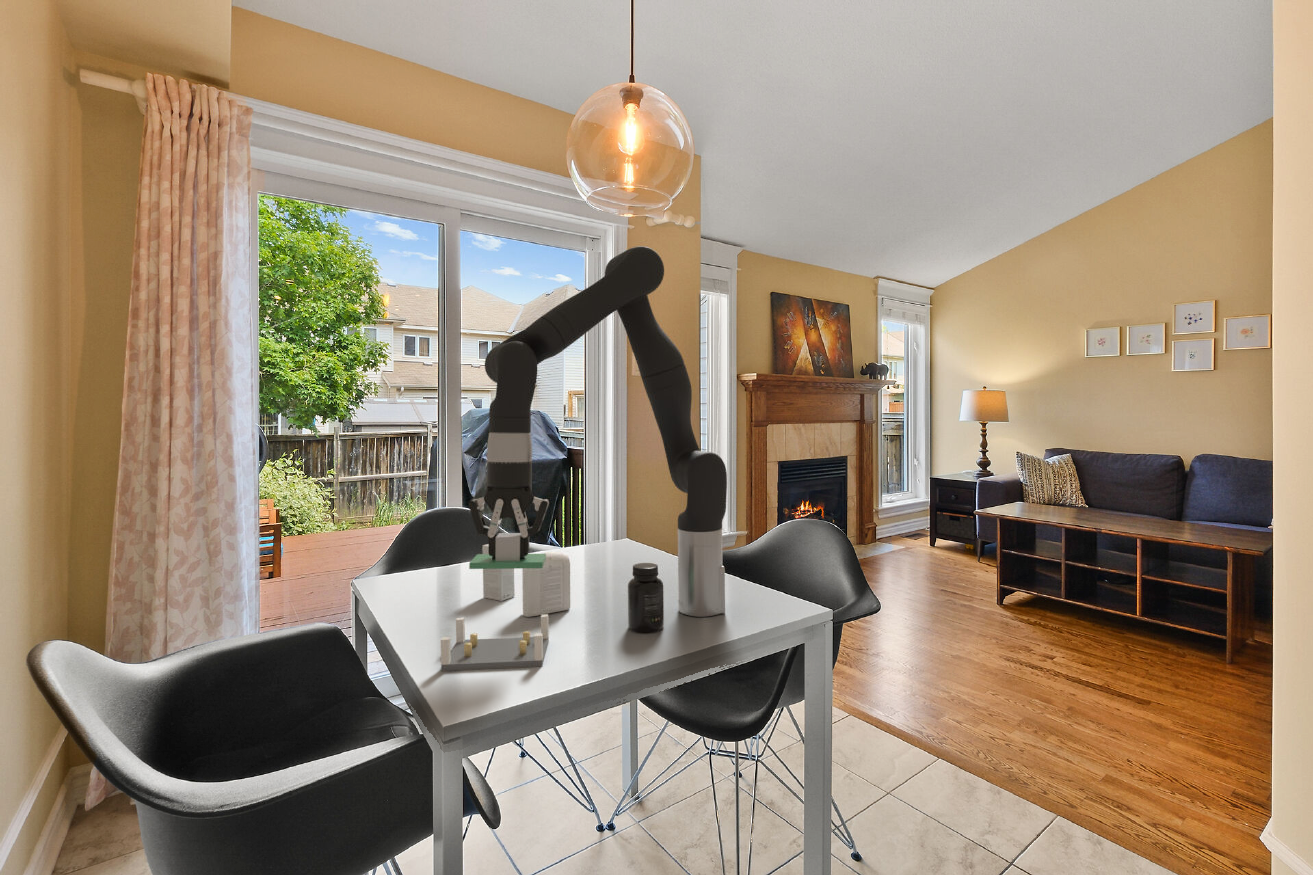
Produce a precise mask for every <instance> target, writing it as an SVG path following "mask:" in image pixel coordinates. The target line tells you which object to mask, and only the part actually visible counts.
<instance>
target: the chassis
mask: <svg viewBox="0 0 1313 875" xmlns="http://www.w3.org/2000/svg"><path fill="white" fill-rule="evenodd" d="M465 622H466V621H465V617H457V618H456V619H455V635H456V641H455V642H456V643H455V644H454V645H453V647H452V646H451V637H450V636H449V637H447V636H443V637H442V638H441V639H440V659H441V660H440V662H441V664H440V665H441V667H440V668H441V670H440V671H441V672H449V671H451V672H452V671H467V670H468V671H469V670H487V669H488V670H492V669H513V668H515V669H516V668H536V667H543V665H544V661H545V658H546V653H547V649H548V646H549V643H550V642H549V641H550V640H549V638H550V633H549V613H548V614H542V615H540V633H534V636H531V632H530V631H528V630H527V631H525V630H524V631H523V632H522V636H521V637H499V638H478V633H475V632H474V633H470V635H469V638H470V639H466V631H465V630H466V628H465V626H466V625H465ZM451 647H452V648H451Z"/></svg>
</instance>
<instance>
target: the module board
mask: <svg viewBox="0 0 1313 875" xmlns="http://www.w3.org/2000/svg"><path fill="white" fill-rule="evenodd" d="M520 538H521V533H520V532H502V533H501V532H499V533H497V536H496V558H495V559H492V556H489V554H483V553H481V554H480V553H477V554H476V555H475V557H474V556H473V559H471V561H470V562H469V570H483V569H514V570H515V569H518V570H519V569H522V568H543V566H544V563H545V560H546V554H542V553H528V555H527V556H525V558H524V559H520Z"/></svg>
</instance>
